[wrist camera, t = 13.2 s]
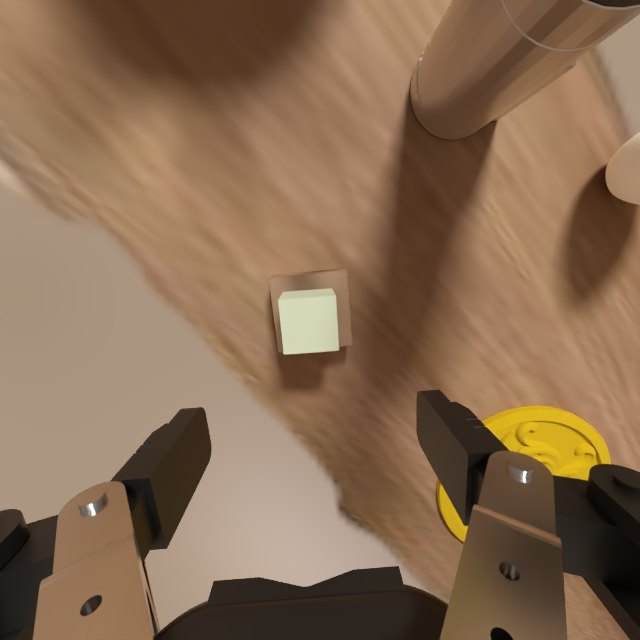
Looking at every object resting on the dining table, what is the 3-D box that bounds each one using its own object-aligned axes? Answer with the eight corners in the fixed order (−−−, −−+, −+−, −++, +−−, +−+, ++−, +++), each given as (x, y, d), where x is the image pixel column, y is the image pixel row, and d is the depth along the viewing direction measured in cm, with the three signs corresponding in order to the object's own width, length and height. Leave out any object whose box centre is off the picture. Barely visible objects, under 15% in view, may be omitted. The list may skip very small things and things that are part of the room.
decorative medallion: (516, 572, 45) (525, 586, 43) (400, 496, 42) (405, 508, 40) (637, 464, 41) (653, 475, 39) (521, 370, 38) (533, 376, 36)
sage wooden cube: (332, 288, 30) (336, 295, 26) (334, 334, 32) (339, 350, 27) (283, 291, 30) (277, 299, 25) (288, 338, 31) (283, 354, 27)
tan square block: (342, 268, 34) (347, 270, 30) (348, 335, 36) (352, 345, 32) (273, 275, 34) (268, 278, 30) (282, 341, 36) (278, 352, 32)
